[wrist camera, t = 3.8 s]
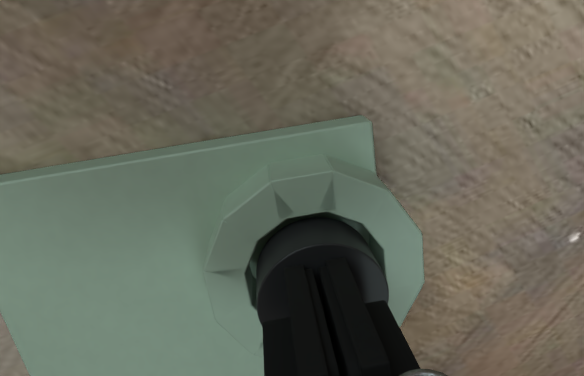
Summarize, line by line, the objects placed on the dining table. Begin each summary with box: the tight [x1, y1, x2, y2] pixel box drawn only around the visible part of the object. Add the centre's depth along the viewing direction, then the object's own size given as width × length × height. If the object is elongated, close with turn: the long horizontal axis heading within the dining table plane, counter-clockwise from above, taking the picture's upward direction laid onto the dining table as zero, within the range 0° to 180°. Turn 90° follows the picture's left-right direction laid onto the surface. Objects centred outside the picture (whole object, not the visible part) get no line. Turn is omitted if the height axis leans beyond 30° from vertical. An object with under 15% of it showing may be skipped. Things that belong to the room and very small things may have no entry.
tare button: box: [256, 217, 389, 328], centre depth 12 cm, size 4×4×2 cm
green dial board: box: [0, 115, 424, 376], centre depth 15 cm, size 16×14×3 cm
